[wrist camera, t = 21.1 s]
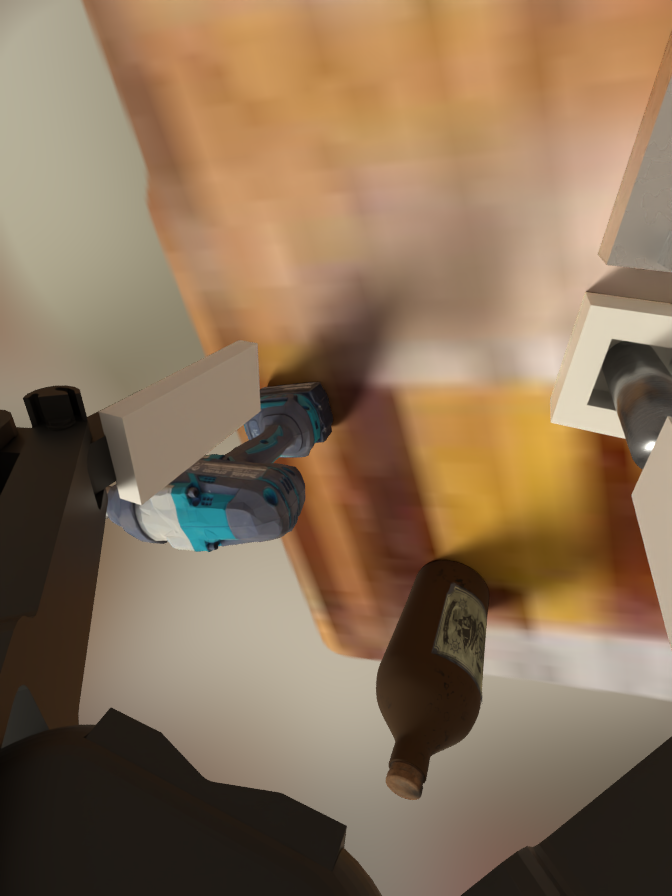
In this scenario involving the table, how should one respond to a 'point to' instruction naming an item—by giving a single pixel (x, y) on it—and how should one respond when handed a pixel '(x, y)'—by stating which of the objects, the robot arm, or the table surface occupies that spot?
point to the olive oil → (433, 670)
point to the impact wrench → (237, 480)
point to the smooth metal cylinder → (638, 394)
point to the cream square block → (594, 333)
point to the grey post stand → (646, 188)
